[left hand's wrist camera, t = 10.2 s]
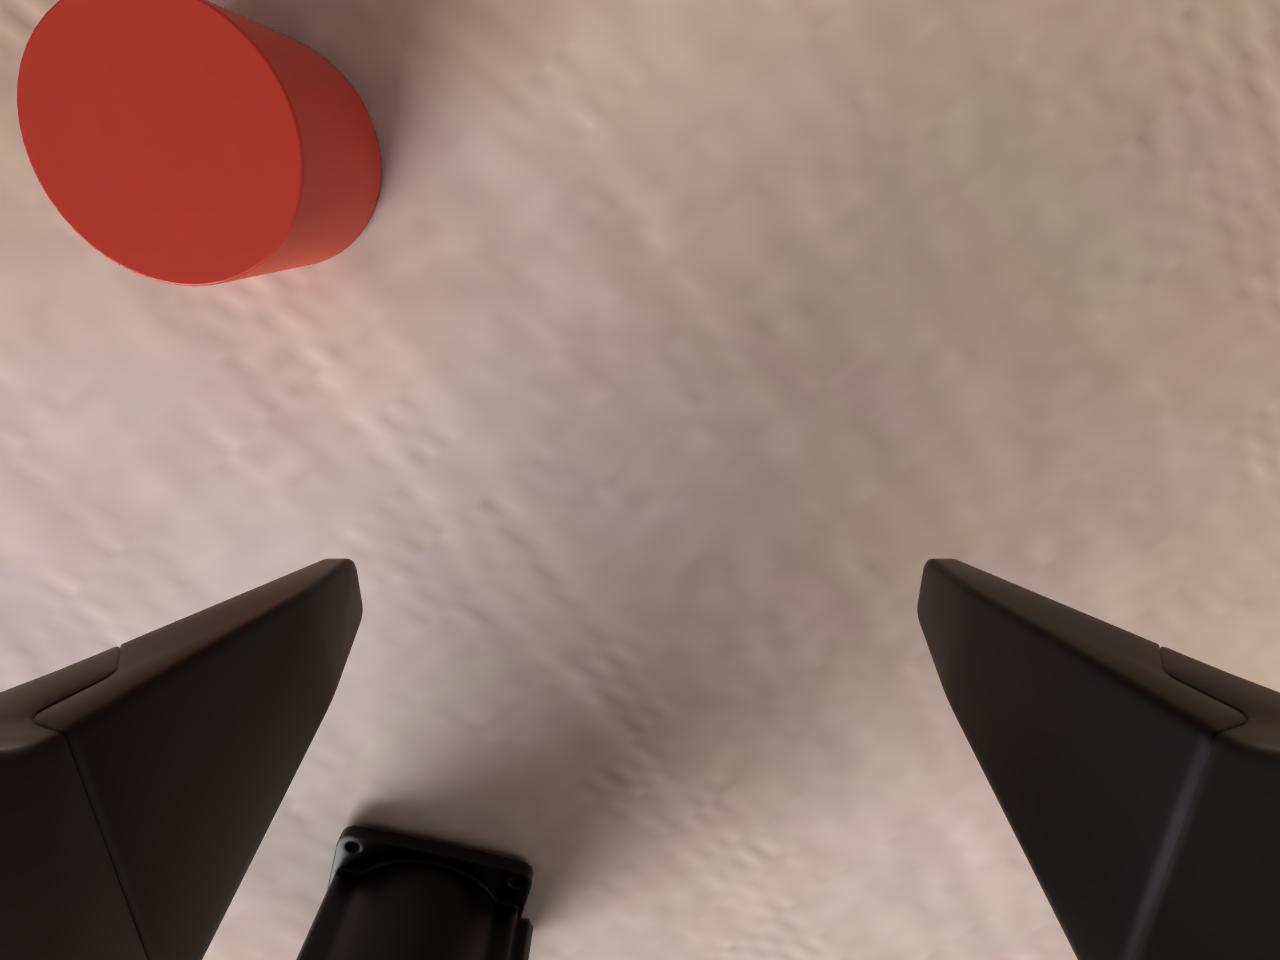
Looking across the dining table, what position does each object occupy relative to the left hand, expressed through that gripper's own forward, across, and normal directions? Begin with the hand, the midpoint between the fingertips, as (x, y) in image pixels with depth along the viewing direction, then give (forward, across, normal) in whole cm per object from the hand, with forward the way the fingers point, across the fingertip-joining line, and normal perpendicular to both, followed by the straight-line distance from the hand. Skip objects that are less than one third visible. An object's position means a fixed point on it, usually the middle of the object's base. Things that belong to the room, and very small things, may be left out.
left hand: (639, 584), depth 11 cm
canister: (+8, +8, -6) cm, 13 cm away
